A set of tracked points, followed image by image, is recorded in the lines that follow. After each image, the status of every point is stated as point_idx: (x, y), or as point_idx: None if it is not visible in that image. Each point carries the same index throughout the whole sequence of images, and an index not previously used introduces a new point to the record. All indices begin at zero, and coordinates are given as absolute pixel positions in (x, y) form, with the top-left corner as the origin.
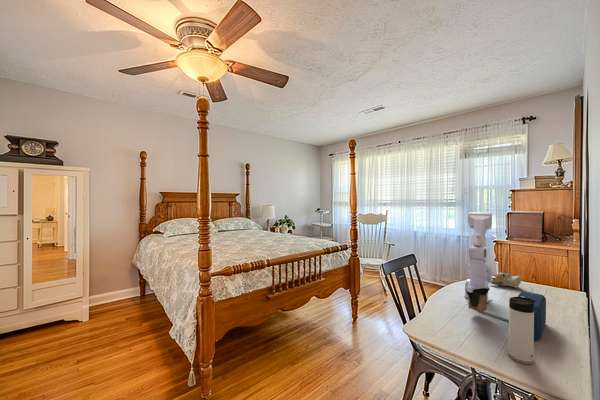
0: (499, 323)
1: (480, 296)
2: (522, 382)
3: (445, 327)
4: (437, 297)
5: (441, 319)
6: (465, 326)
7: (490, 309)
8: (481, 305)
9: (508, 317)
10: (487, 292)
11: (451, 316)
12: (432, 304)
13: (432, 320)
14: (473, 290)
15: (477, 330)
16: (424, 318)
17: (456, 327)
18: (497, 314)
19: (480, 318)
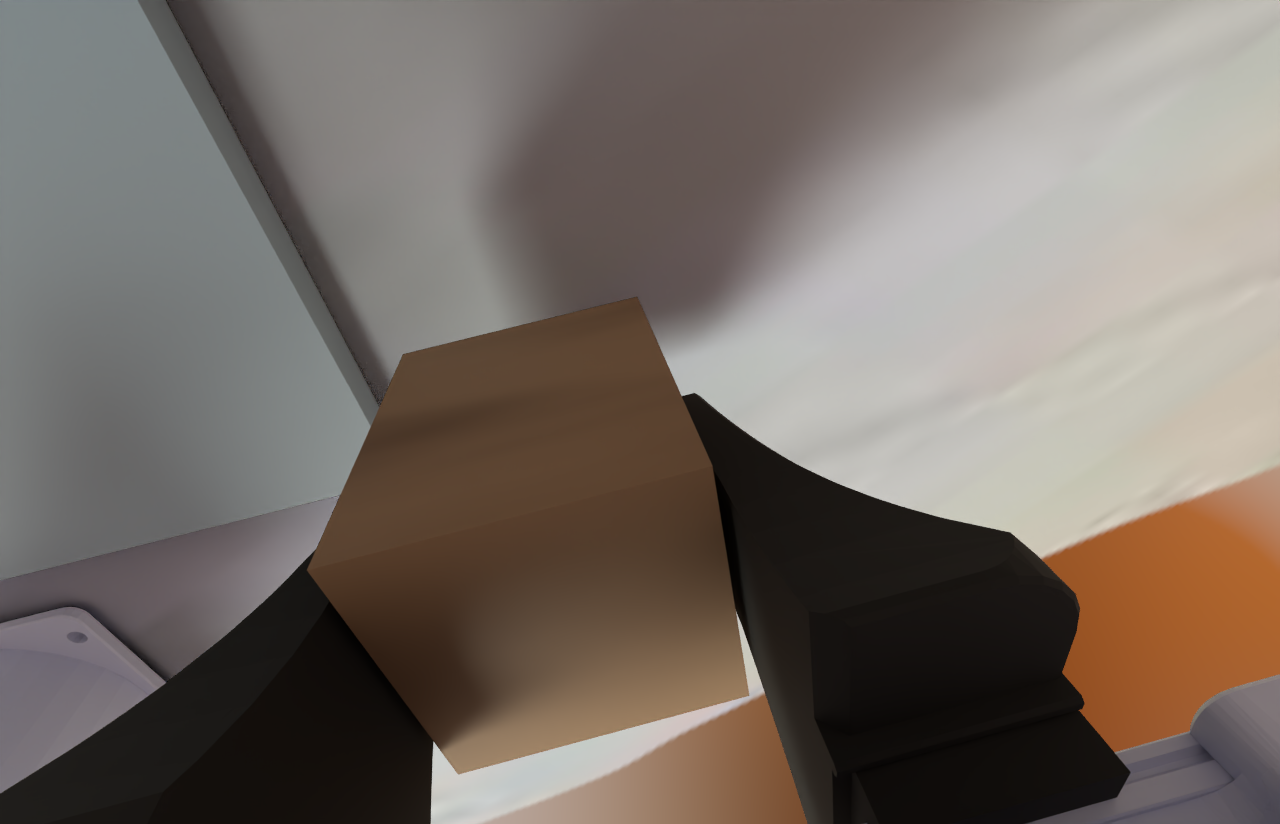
0: (418, 22)
1: (572, 574)
2: None
3: (1223, 265)
4: (569, 770)
5: (1041, 423)
6: (1018, 188)
7: (174, 425)
8: (645, 361)
9: (32, 52)
10: (142, 705)
11: (874, 446)
12: None
13: (1135, 432)
14: (1115, 782)
15: (1020, 12)
16: (1143, 484)
17: (1134, 214)
18: (197, 247)
19: (578, 291)
